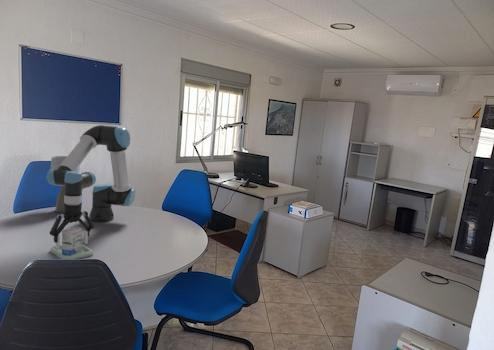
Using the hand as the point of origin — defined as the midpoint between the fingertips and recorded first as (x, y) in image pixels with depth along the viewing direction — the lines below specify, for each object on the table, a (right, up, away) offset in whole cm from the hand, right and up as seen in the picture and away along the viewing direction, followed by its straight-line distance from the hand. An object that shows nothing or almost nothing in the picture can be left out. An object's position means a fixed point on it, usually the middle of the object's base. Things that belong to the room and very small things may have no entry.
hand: (71, 245), depth 165 cm
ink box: (0, -3, +1) cm, 4 cm away
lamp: (-40, +10, +66) cm, 78 cm away
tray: (0, -4, +1) cm, 4 cm away
